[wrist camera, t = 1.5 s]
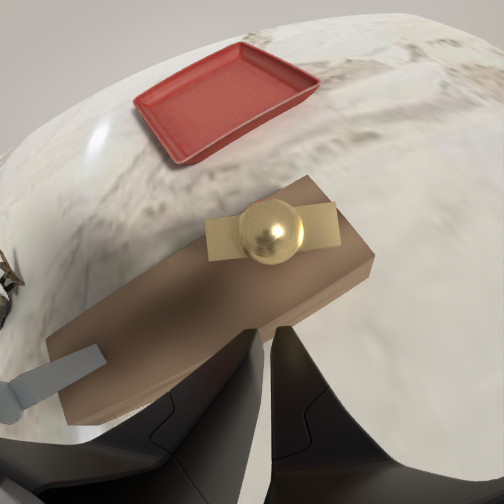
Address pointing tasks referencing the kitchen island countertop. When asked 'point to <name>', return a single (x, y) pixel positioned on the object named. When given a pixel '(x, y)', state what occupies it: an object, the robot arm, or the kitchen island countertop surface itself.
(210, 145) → the plant saucer
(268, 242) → the brass lever
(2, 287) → the eagle figurine
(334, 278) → the walnut panel
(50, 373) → the slate lever
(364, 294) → the kitchen island countertop surface
